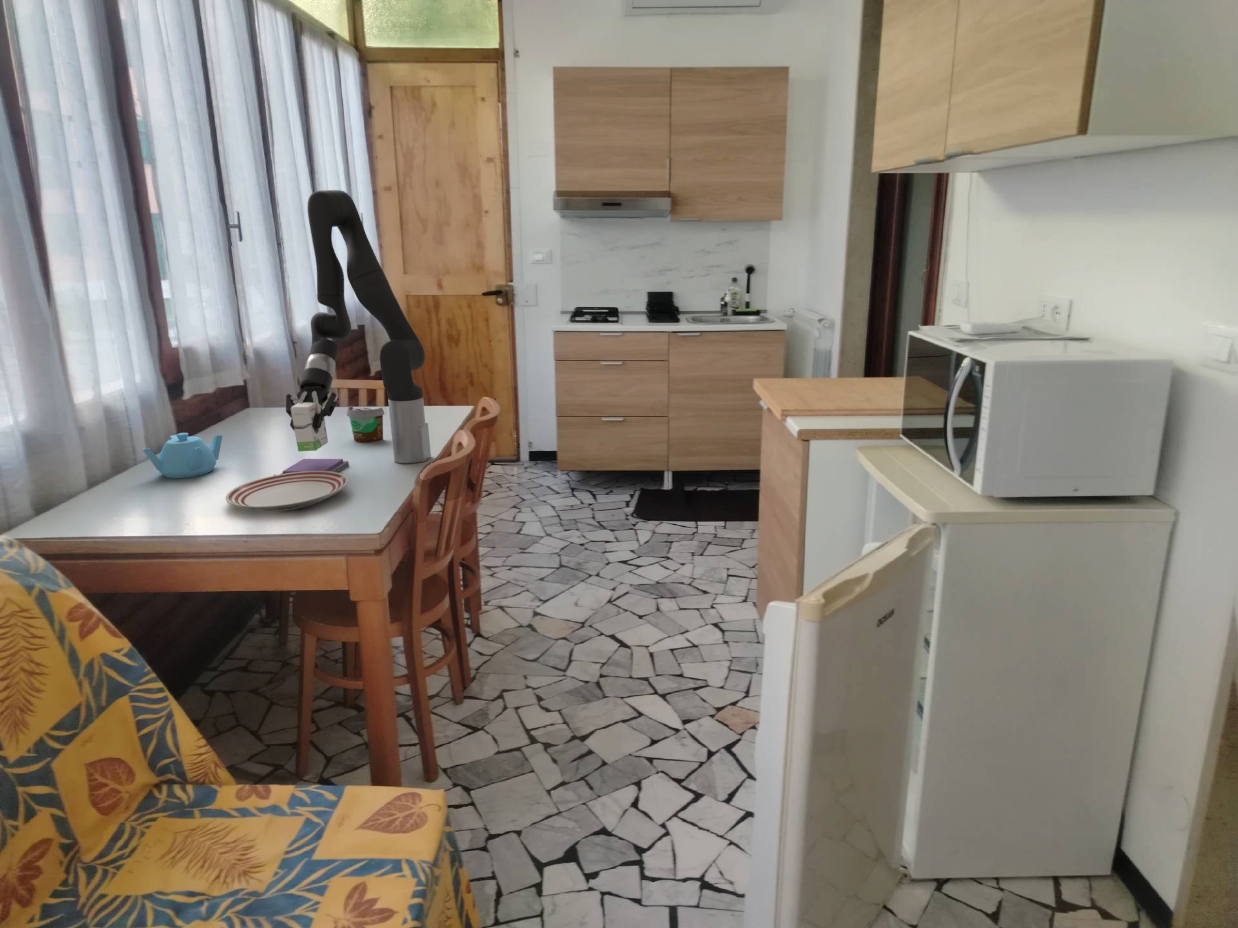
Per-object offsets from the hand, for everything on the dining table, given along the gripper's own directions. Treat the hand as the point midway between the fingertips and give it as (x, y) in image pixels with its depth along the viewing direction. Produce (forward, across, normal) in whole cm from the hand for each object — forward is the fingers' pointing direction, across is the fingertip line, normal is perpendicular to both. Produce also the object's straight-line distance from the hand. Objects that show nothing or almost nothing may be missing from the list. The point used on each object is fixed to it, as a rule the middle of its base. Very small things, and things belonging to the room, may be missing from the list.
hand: (304, 428), depth 214 cm
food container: (-17, -1, +35) cm, 39 cm away
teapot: (+7, -36, +10) cm, 38 cm away
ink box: (+2, 0, +6) cm, 7 cm away
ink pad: (+7, -1, +11) cm, 13 cm away
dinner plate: (+23, +3, -4) cm, 23 cm away
